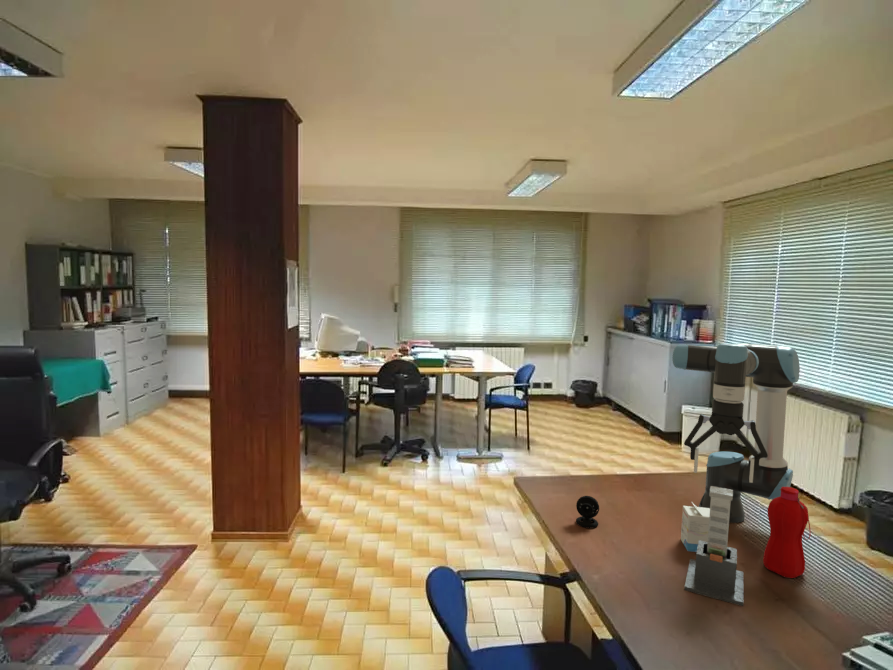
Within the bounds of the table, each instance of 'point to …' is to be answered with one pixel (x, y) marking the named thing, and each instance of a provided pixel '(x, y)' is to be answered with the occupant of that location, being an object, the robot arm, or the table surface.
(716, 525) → the column
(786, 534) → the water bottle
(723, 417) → the robot arm
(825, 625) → the table surface
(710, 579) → the stand base
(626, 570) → the table surface
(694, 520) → the ink box
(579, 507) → the webcam
